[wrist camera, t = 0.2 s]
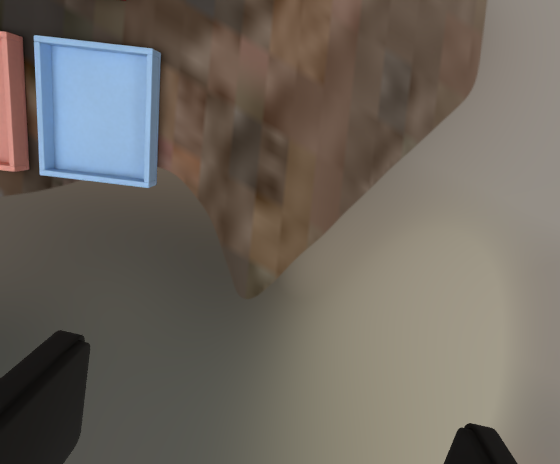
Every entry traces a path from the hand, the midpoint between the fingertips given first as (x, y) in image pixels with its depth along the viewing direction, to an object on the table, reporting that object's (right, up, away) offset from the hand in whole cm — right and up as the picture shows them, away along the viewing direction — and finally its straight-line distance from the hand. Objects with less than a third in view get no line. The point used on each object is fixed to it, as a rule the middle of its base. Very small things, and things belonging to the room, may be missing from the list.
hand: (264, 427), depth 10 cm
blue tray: (-19, +18, +35) cm, 43 cm away
